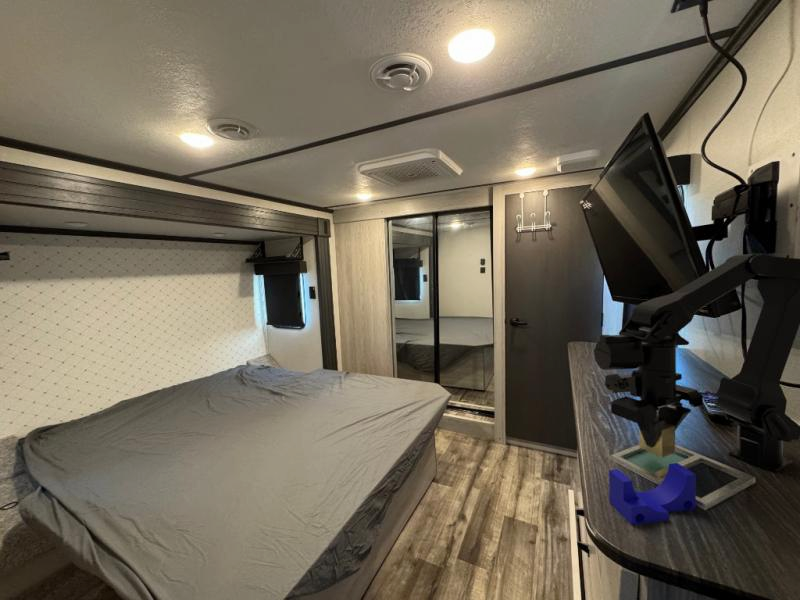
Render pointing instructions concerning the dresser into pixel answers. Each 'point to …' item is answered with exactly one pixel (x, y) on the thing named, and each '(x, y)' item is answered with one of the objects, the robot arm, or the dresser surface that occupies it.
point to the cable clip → (653, 496)
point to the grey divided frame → (658, 467)
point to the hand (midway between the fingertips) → (656, 443)
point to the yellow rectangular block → (661, 441)
